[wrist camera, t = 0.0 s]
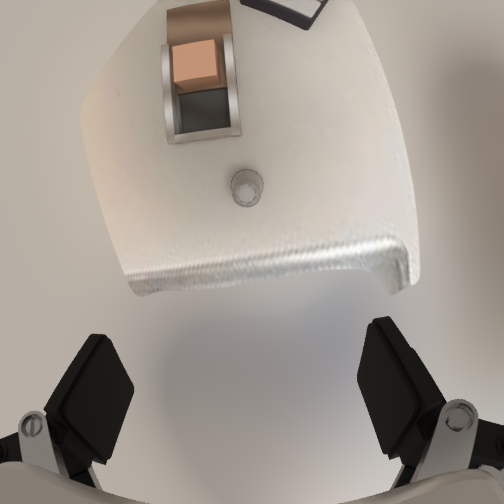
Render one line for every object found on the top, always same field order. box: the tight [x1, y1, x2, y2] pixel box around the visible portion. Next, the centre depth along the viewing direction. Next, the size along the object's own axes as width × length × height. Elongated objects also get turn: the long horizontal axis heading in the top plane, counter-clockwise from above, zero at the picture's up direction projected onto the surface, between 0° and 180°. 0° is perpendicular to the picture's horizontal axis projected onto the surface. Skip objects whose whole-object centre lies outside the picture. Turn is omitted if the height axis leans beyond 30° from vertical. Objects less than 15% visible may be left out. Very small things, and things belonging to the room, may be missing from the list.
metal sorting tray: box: [161, 0, 241, 144], centre depth 28 cm, size 22×9×4 cm, turn 5°
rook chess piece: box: [231, 170, 263, 207], centre depth 34 cm, size 4×4×8 cm
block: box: [172, 39, 221, 90], centre depth 27 cm, size 5×5×5 cm
